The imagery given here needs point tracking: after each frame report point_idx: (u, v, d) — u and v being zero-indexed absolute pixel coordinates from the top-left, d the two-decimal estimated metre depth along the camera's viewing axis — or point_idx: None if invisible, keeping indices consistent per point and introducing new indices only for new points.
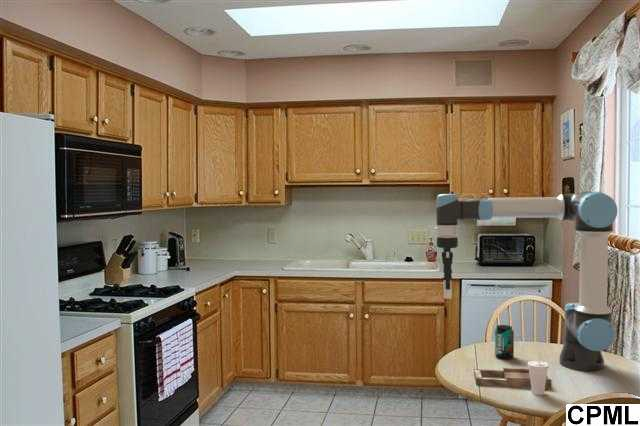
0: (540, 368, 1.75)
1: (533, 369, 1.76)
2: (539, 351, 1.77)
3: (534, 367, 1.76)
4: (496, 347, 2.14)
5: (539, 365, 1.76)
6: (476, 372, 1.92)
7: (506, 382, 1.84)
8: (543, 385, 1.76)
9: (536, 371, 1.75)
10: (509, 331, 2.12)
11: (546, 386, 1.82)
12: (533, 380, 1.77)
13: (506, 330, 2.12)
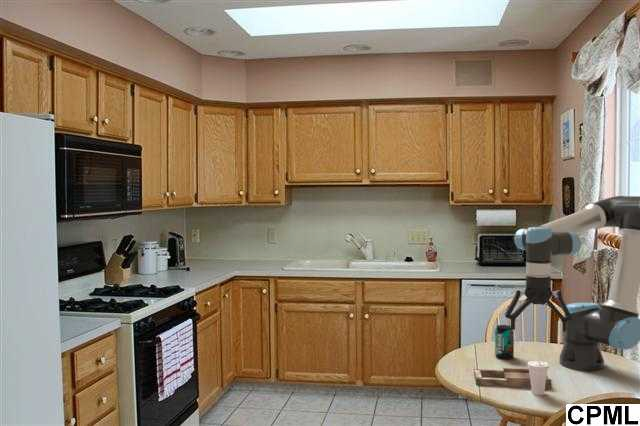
0: (540, 368, 1.75)
1: (533, 369, 1.76)
2: (539, 351, 1.77)
3: (534, 367, 1.76)
4: (496, 347, 2.14)
5: (539, 365, 1.76)
6: (476, 372, 1.92)
7: (506, 382, 1.84)
8: (543, 385, 1.76)
9: (536, 371, 1.75)
10: (509, 331, 2.12)
11: (546, 386, 1.82)
12: (533, 380, 1.77)
13: (506, 330, 2.12)
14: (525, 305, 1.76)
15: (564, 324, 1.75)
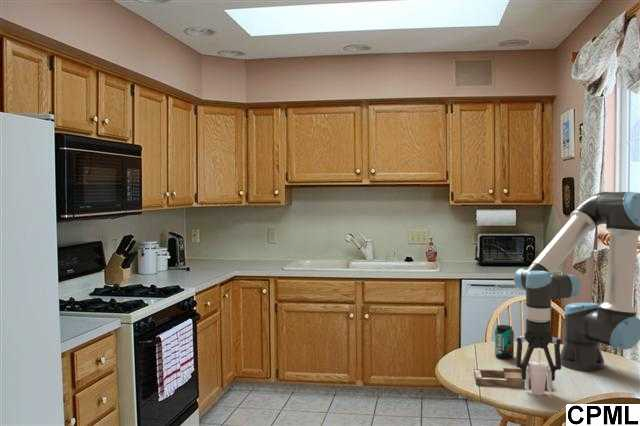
0: (540, 368, 1.75)
1: (533, 369, 1.76)
2: (539, 351, 1.77)
3: (534, 367, 1.76)
4: (496, 347, 2.14)
5: (539, 365, 1.76)
6: (476, 372, 1.92)
7: (506, 382, 1.84)
8: (543, 385, 1.76)
9: (536, 371, 1.75)
10: (509, 331, 2.12)
11: (546, 386, 1.82)
12: (533, 380, 1.77)
13: (506, 330, 2.12)
14: (530, 351, 1.77)
15: (553, 373, 1.76)
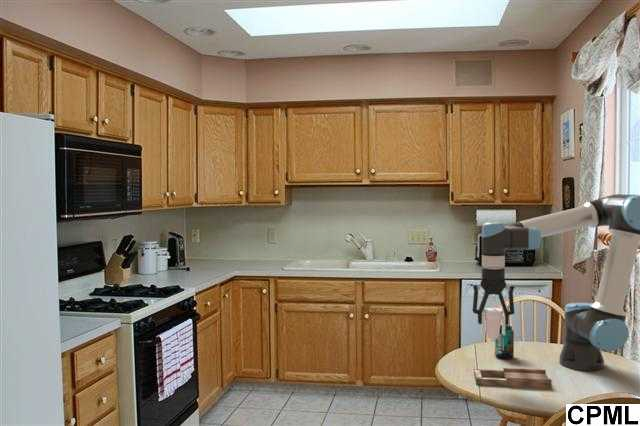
0: (494, 313, 1.86)
1: (488, 314, 1.87)
2: (494, 297, 1.88)
3: (489, 312, 1.87)
4: (496, 347, 2.14)
5: (494, 310, 1.87)
6: (476, 372, 1.92)
7: (506, 382, 1.84)
8: (497, 329, 1.87)
9: (491, 316, 1.86)
10: (509, 331, 2.12)
11: (546, 386, 1.82)
12: (489, 325, 1.88)
13: (506, 330, 2.12)
14: (485, 298, 1.88)
15: (507, 318, 1.87)
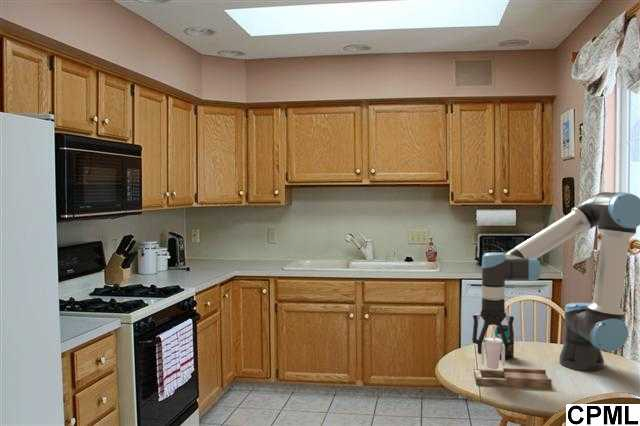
0: (494, 343, 1.86)
1: (488, 344, 1.88)
2: (494, 328, 1.88)
3: (489, 342, 1.87)
4: None
5: (493, 341, 1.88)
6: (476, 372, 1.92)
7: (506, 382, 1.84)
8: (497, 359, 1.88)
9: (490, 346, 1.87)
10: None
11: (546, 386, 1.82)
12: (488, 355, 1.88)
13: (506, 330, 2.12)
14: (485, 328, 1.89)
15: (506, 348, 1.88)
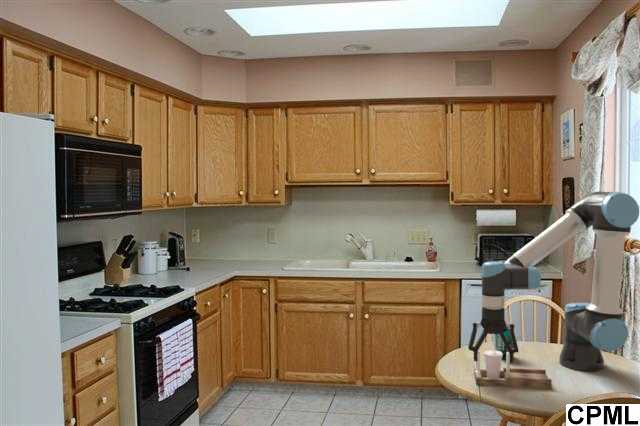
0: (494, 357, 1.86)
1: (488, 358, 1.88)
2: (494, 341, 1.88)
3: (489, 356, 1.87)
4: (496, 347, 2.14)
5: (494, 354, 1.88)
6: (476, 372, 1.92)
7: (506, 382, 1.84)
8: (497, 373, 1.88)
9: (491, 360, 1.87)
10: (509, 331, 2.12)
11: (546, 386, 1.82)
12: (489, 368, 1.88)
13: (506, 330, 2.12)
14: (483, 336, 1.89)
15: (511, 356, 1.88)
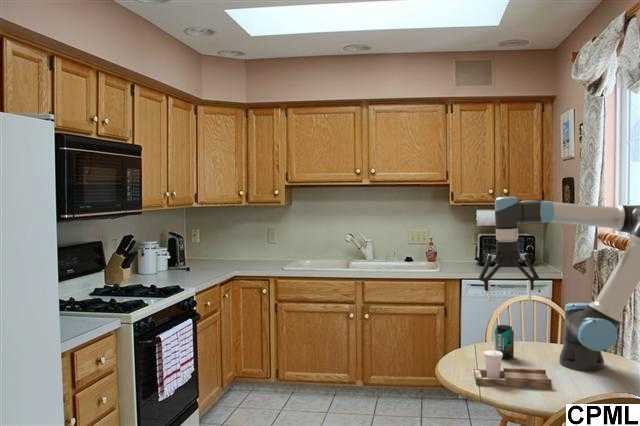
0: (494, 357, 1.87)
1: (488, 358, 1.88)
2: (494, 341, 1.89)
3: (489, 356, 1.87)
4: (496, 347, 2.14)
5: (494, 354, 1.88)
6: (476, 372, 1.92)
7: (506, 382, 1.84)
8: (497, 373, 1.88)
9: (491, 360, 1.87)
10: (509, 331, 2.12)
11: (546, 386, 1.82)
12: (489, 368, 1.88)
13: (506, 330, 2.12)
14: (496, 268, 1.94)
15: (532, 283, 1.93)
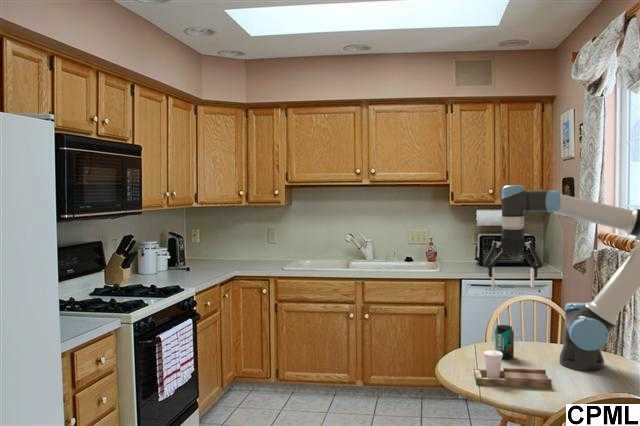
0: (494, 357, 1.87)
1: (488, 358, 1.88)
2: (494, 341, 1.89)
3: (489, 356, 1.87)
4: (496, 347, 2.14)
5: (494, 354, 1.88)
6: (476, 372, 1.92)
7: (506, 382, 1.84)
8: (497, 373, 1.88)
9: (491, 360, 1.87)
10: (509, 331, 2.12)
11: (546, 386, 1.82)
12: (489, 368, 1.88)
13: (506, 330, 2.12)
14: (501, 255, 1.98)
15: (535, 271, 1.96)
